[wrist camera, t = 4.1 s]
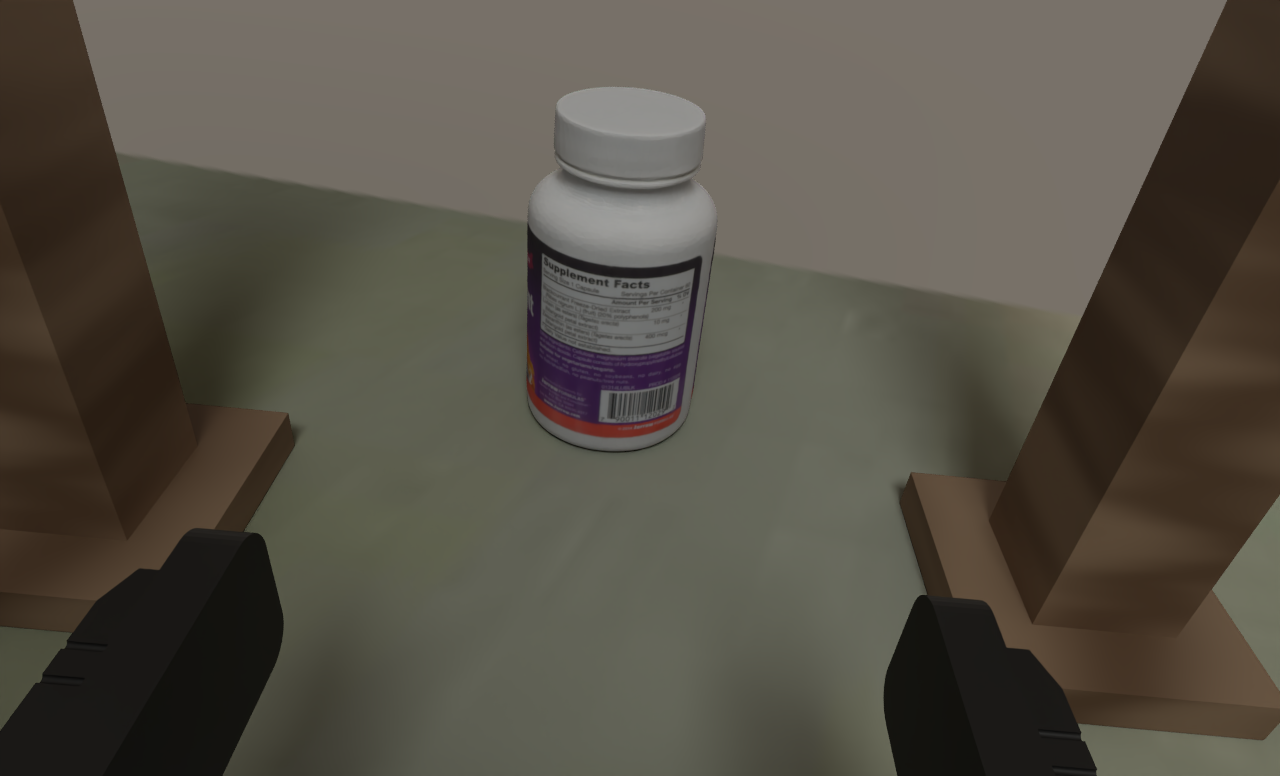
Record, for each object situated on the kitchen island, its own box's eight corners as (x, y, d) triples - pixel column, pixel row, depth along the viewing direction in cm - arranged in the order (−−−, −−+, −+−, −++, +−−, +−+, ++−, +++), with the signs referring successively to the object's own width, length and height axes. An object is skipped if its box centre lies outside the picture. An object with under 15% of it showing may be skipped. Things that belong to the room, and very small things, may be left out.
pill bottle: (569, 343, 30) (582, 66, 25) (709, 385, 29) (757, 102, 23) (494, 425, 26) (489, 114, 21) (654, 478, 25) (697, 161, 19)
